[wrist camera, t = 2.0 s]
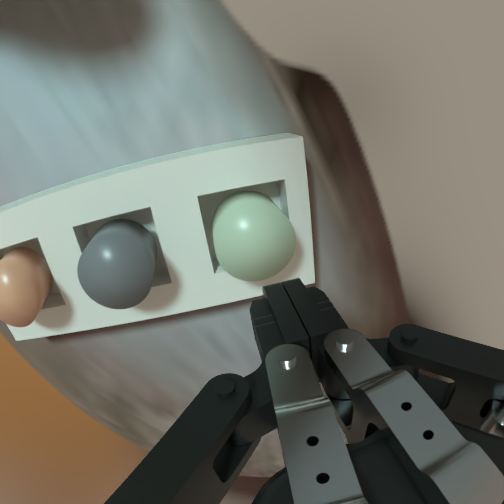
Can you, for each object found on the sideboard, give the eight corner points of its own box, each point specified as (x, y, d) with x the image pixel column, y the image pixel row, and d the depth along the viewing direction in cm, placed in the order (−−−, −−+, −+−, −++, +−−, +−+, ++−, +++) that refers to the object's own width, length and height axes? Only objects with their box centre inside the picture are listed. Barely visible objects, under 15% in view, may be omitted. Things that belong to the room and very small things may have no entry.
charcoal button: (82, 227, 18) (66, 249, 15) (146, 211, 19) (139, 230, 16) (104, 287, 20) (94, 314, 17) (164, 274, 21) (162, 301, 18)
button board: (-18, 214, 18) (-38, 228, 15) (288, 132, 20) (302, 136, 18) (28, 319, 23) (16, 340, 20) (301, 263, 25) (315, 282, 22)
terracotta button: (-6, 254, 17) (-27, 275, 14) (38, 240, 18) (18, 262, 15) (18, 305, 19) (2, 330, 16) (61, 296, 20) (47, 323, 17)
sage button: (204, 198, 19) (207, 215, 16) (276, 184, 19) (291, 198, 16) (218, 263, 21) (223, 288, 18) (284, 248, 21) (298, 271, 18)
